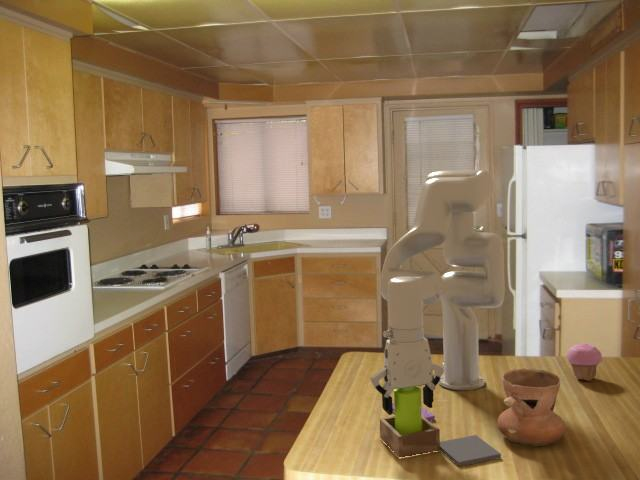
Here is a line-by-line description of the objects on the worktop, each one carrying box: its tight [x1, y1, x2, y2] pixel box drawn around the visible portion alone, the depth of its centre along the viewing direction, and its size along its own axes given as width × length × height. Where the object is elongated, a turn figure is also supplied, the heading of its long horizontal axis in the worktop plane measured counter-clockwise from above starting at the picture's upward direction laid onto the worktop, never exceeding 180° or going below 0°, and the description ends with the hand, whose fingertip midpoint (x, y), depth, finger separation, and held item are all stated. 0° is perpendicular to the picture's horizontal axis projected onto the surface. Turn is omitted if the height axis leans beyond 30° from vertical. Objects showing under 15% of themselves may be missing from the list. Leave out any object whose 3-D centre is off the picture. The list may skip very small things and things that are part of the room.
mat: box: [440, 434, 502, 467], centre depth 142 cm, size 10×10×1 cm
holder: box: [379, 415, 441, 458], centre depth 146 cm, size 11×10×5 cm
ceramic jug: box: [497, 368, 567, 447], centre depth 147 cm, size 18×14×14 cm
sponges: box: [392, 402, 436, 422], centre depth 164 cm, size 7×13×2 cm, turn 20°
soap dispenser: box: [393, 386, 422, 435], centre depth 145 cm, size 6×7×20 cm
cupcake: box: [566, 343, 603, 382], centre depth 182 cm, size 9×9×10 cm
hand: (408, 409), depth 145 cm, fingers open, 9 cm apart
